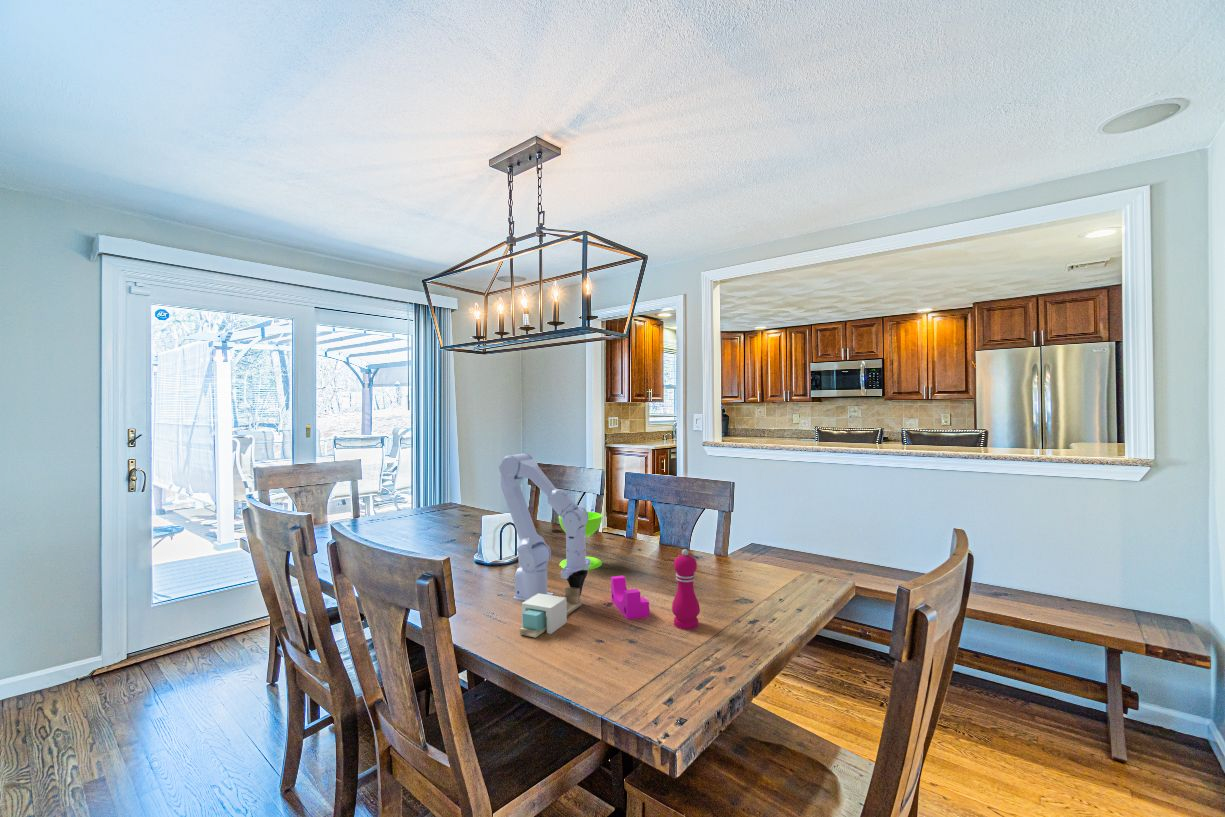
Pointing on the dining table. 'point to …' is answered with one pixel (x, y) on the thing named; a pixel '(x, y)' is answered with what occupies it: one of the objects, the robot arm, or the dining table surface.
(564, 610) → the cream tunnel
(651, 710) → the dining table surface
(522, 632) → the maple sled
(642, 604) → the toy block
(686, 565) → the pepper mill
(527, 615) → the teal block
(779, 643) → the dining table surface
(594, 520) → the wineglass
